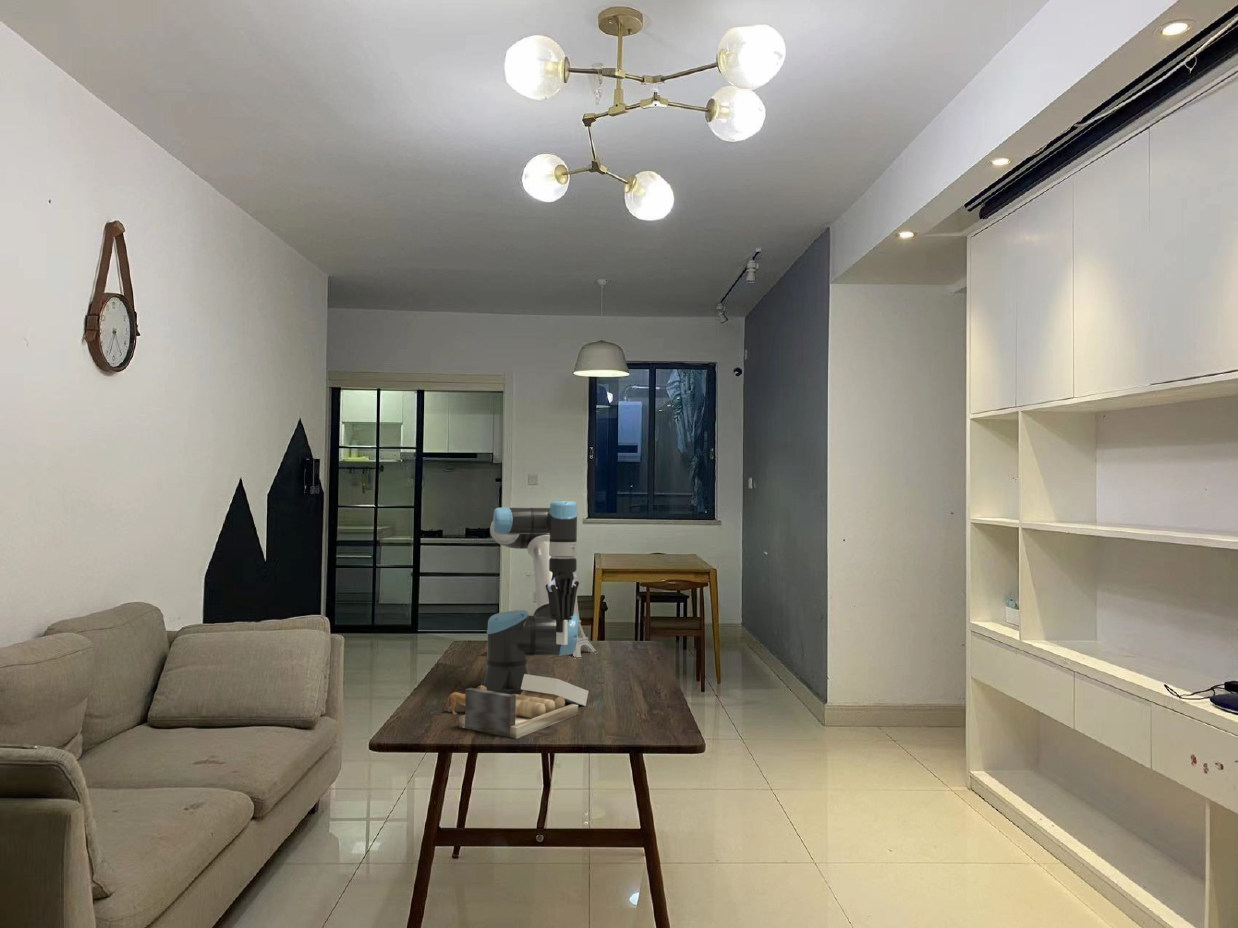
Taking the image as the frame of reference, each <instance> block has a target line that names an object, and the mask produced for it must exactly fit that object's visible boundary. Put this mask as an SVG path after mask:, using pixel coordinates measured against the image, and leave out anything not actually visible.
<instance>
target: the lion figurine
mask: <svg viewBox="0 0 1238 928" xmlns="http://www.w3.org/2000/svg"><path fill="white" fill-rule="evenodd" d="M475 689H481V690H487V688H486V687H485V686H481V685H478V686H477V687H475ZM457 703H458V704H460V705H462V706H464V707H465V693H460V692H456V691H454V692H452V693H450V694H449V696H448V698H447V701H446V705H445V708H443V709H442V710H441V713H445V712H446V711H447V712H450V713H451V712H452V715H457V714H458V713H457V712H456V711H455V708H456V706H457Z"/></svg>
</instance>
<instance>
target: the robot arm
mask: <svg viewBox="0 0 1238 928" xmlns="http://www.w3.org/2000/svg"><path fill="white" fill-rule="evenodd" d="M578 514H579V513H578V504H577V503H576V501H570V500H569V501H567V500H566V501H565V500H564V501H563V500H561V501H560V500H559V501H557V500H555V501H551V502H550V504H549V507H509V506H504V507H496V508H495V509H494V510H493V519H492V521H491V523H490V527H489V534H490V537H491V538H492V539H493V541H495V543H497V544H499V545H501V546H503V547H506V548H510V549H518V550H519V549H521V550H522V549H525V550H527V553H528V554H529V557H532V561H533V571H534V583H535V596H536V609H535V610H534V612H533V614H532V615H529V613H528V611H527V610H525V609H519V610H518V609H517V610H508V611H503V612H498V613H495V614H493V615H491V616H490V617H489V618H488V620H487V631H486V635H487V645H486V647H487V648H486V649H487V650H486V653H487V654H486V667H485V671H484V673H483V674H484V675H483V678H482V682H481V684H480V686H485V687H486V688H487V691H493V692H499V693H505V694H511V695H512V694H518V695H520V694H521V693H522V692H523V691H525V690H522V689H521V685H522V681H523V677H524V674H528V675H531V674H530V671H529V667H528V657H538V656H539V657H540V656H541V657H545V656H559V657H561V656H565V655H569V656H570V655H573V653H574V651H575V649H576V644H577V637H578V636H579V635H578V616H577V615H575V614H574V607H575V600H576V593H577V594H578V588H579V584H580V582H579V580H578V581H575V580H574V576H573V572H575V573H576V571H577V570H578V569H577V567H578V566H577V560H578V559H577V558H576V556H577V552H578V551H577V549H578V547H577V541H578V537H577V535H578ZM537 607H538V608H537Z"/></svg>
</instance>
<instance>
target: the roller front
mask: <svg viewBox="0 0 1238 928" xmlns="http://www.w3.org/2000/svg"><path fill="white" fill-rule="evenodd" d="M545 711H546V708H545V705H544V704H543V703H537V702H531V701H525V700H519V699H516V711H515V715H516V716H521V717H527V718H535V717H538V716H541V715H543V714H545Z"/></svg>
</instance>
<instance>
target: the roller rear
mask: <svg viewBox="0 0 1238 928" xmlns="http://www.w3.org/2000/svg"><path fill="white" fill-rule="evenodd" d="M520 695H525V696H531V697H537V698H543V699H549V700H553V701H554V702H555V710H557V709H560V708H562V707H565V706H566V703H565V699H564V697H561V696H554V695H548V694H541V693H535V692H529V691H523V692H522V693H521V694H520Z"/></svg>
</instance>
